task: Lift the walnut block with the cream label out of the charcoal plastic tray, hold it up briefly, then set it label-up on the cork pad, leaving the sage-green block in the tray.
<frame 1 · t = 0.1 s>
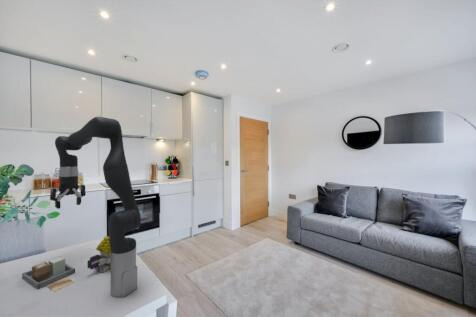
hand: (68, 206, 103), 29 cm above the table, fingers open, 8 cm apart
toy: (103, 270, 97), on the table
tray: (49, 276, 91), on the table
walnut block: (41, 278, 88), resting on tray
cork pad: (60, 285, 85), on the table
sage block: (56, 272, 93), resting on tray
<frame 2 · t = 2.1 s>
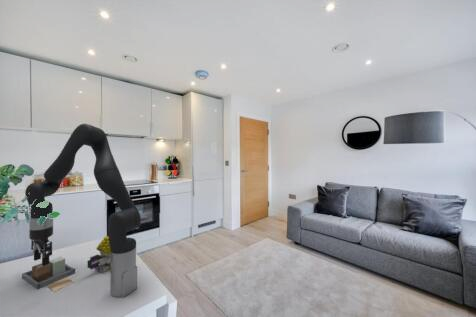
hand: (41, 262, 89), 8 cm above the table, fingers open, 8 cm apart
nothing on the table moved.
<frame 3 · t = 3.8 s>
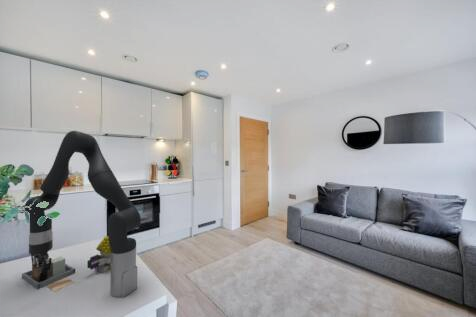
hand: (41, 278, 88), 1 cm above the table, fingers closed on walnut block, 4 cm apart
walnut block: (41, 278, 88), point 1 cm above the table, touching gripper, tray
everything else where it was.
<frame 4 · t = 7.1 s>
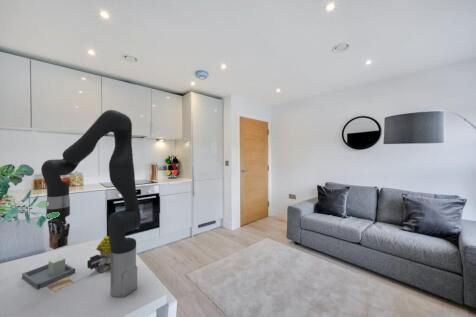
hand: (58, 245, 85), 17 cm above the table, fingers closed on walnut block, 4 cm apart
walnut block: (58, 246, 85), point 17 cm above the table, touching gripper
everything else where it was.
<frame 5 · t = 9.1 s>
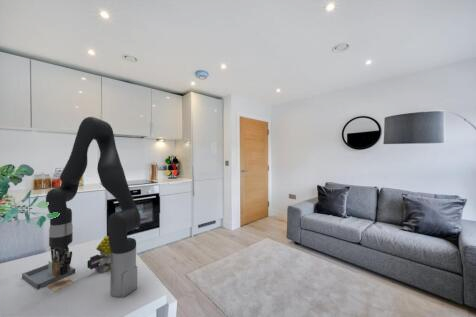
hand: (60, 272, 85), 5 cm above the table, fingers closed on walnut block, 4 cm apart
walnut block: (60, 273, 85), point 5 cm above the table, touching gripper
everything else where it was.
when the fingers open (2 cm above the table, at t = 10.6 s): walnut block drops 1 cm, resting on cork pad.
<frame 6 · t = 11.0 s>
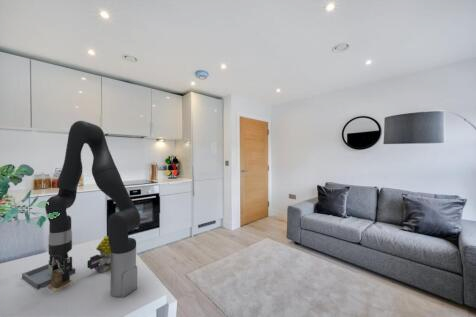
hand: (60, 278, 85), 3 cm above the table, fingers open, 8 cm apart
walnut block: (60, 284, 85), point 1 cm above the table, touching cork pad
everything else where it was.
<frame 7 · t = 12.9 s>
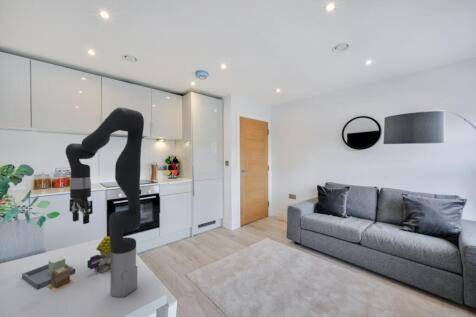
hand: (80, 222, 91), 25 cm above the table, fingers open, 8 cm apart
nothing on the table moved.
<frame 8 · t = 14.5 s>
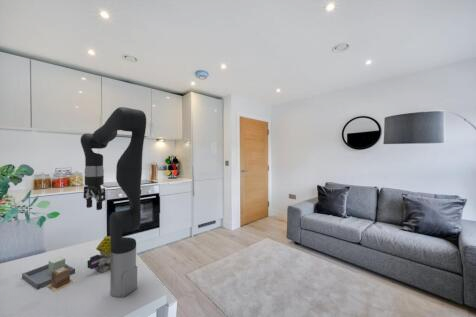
hand: (94, 208, 96), 30 cm above the table, fingers open, 8 cm apart
nothing on the table moved.
at the end: walnut block inside the target area on the cork pad (0.1 cm from its centre), point 0.6 cm above the cork pad's base; walnut block tilted 0°; sage block moved 0.0 cm from its start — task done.
